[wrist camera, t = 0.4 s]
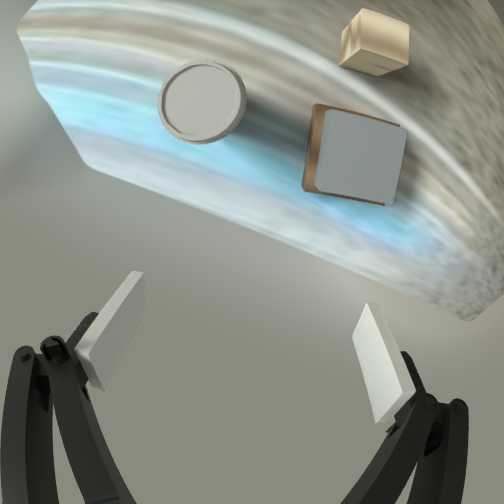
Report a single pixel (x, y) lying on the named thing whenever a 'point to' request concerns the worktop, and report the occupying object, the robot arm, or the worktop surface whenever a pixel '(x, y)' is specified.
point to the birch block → (374, 43)
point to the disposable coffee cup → (202, 101)
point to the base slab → (314, 149)
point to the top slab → (359, 157)
